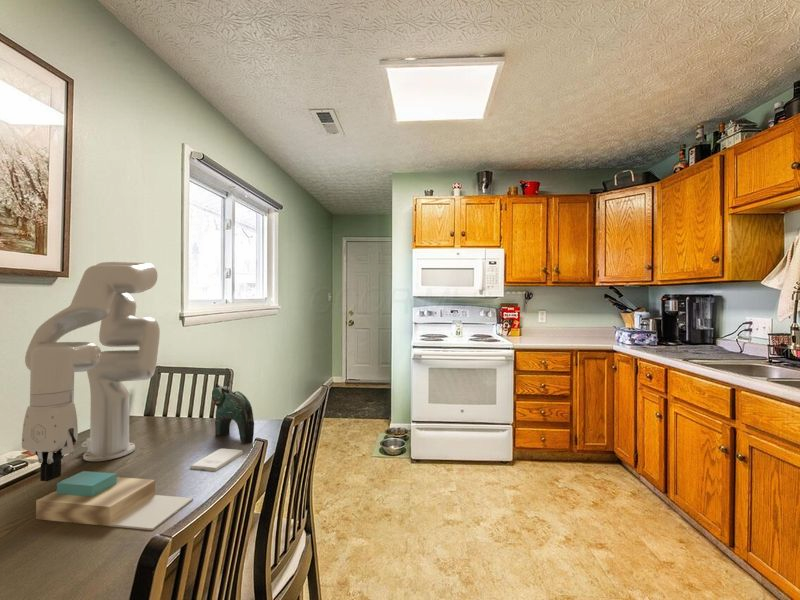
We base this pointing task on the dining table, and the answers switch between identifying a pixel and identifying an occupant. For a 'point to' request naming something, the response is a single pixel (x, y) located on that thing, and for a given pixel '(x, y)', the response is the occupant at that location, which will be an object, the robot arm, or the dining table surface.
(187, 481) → the dining table surface
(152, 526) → the mat
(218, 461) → the external hard drive
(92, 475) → the teal rectangular slab
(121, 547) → the dining table surface
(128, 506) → the tan wooden flat block
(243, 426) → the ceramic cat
